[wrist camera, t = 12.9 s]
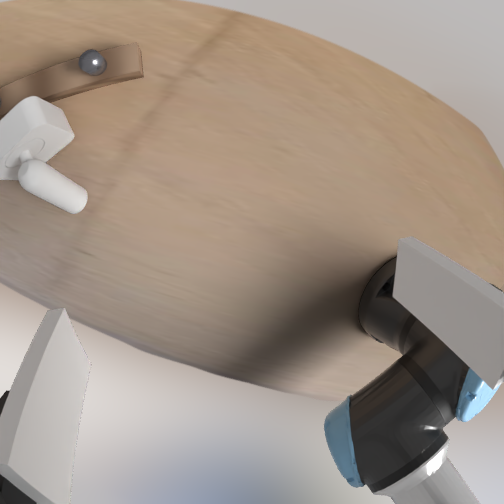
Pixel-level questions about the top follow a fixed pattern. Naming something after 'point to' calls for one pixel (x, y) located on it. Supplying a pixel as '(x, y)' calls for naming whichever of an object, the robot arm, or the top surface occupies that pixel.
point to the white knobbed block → (38, 152)
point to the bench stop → (75, 76)
